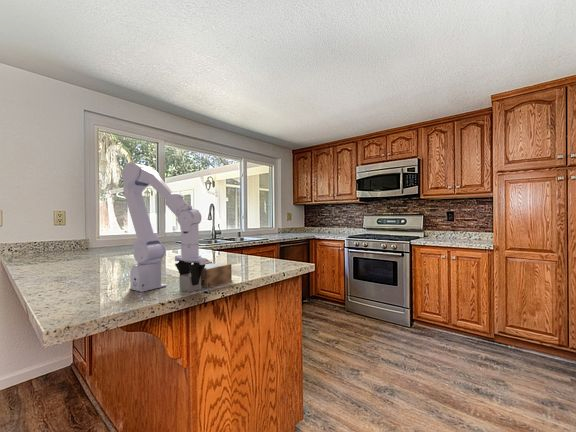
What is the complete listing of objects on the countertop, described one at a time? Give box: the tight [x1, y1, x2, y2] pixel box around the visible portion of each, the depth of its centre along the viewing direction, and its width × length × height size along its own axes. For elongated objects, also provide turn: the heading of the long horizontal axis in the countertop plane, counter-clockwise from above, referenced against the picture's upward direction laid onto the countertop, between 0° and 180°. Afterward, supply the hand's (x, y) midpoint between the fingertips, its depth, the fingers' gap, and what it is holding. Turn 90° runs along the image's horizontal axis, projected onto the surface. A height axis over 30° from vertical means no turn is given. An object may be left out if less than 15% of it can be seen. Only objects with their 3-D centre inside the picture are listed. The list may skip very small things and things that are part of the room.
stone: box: [179, 273, 202, 293], centre depth 99 cm, size 5×5×5 cm
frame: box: [189, 261, 233, 288], centre depth 109 cm, size 12×12×6 cm
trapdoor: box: [189, 262, 223, 274], centre depth 109 cm, size 11×9×2 cm
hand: (190, 283), depth 99 cm, fingers closed on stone, 5 cm apart
